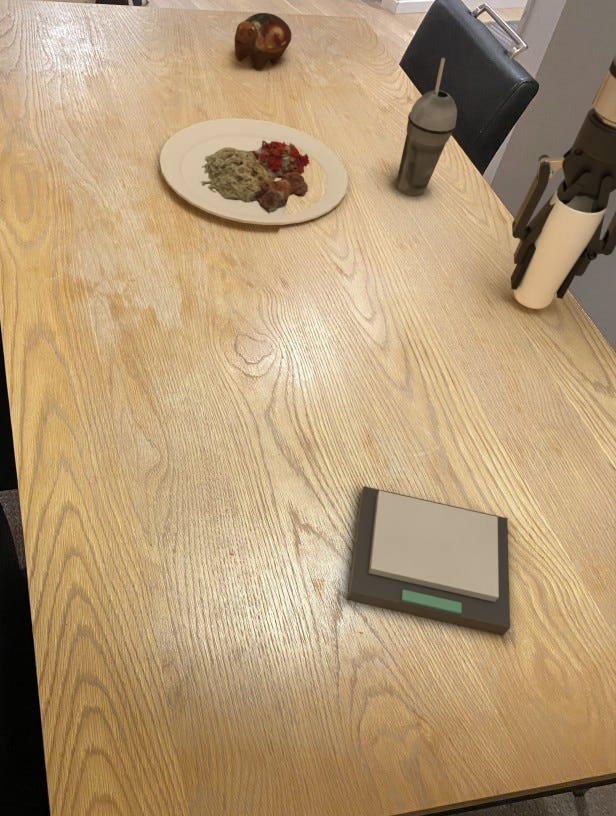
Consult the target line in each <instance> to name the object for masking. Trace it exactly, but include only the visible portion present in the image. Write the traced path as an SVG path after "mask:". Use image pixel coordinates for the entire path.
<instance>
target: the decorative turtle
mask: <svg viewBox="0 0 616 816" xmlns="http://www.w3.org/2000/svg"><path fill="white" fill-rule="evenodd" d="M291 41H292V30H291V28H290V26H289V25H288V24H287V22H286V21H285V20H284V19H282V18H281V17H279V16H278V15H276V14H272V13H269V12H258V13H254V14H252V15H251V16H249V17H247V18H246V19H244V20H243V21H241V22H239V23H238V24H237V27H236V29H235V34H234V55H235V58H236V59H237V60H238V61H240V62H242V61H244V60H246V59H247V58H249V59H250V61H251V62H252V64H253V66H254V67H255V69H256V70H258V71H261V70H263V69H264V68H265V67H266V66H267V64H268V63H269V62H270V63H271V65H275V66H276V65H277V64H278V63H279V62H280V60H281V58H282V56H283V55H284V53H285V51H286V50H287V48H288V47H289V45H290V43H291Z"/></svg>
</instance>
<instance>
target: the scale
mask: <svg viewBox="0 0 616 816" xmlns="http://www.w3.org/2000/svg"><path fill="white" fill-rule="evenodd" d="M356 515H357V516H356V524H355V532H354V541H353V549H352V556H351V565H350V572H349V573H350V574H349V579H348V580H349V581H348V588H347V589H348V590H347V597H346V600H347V601H349V602H354V603H359V604H363V605H368V606H372V607H376V608H380V609H385V610H388V611H394V612H398V613H402V614H406V615H411V616H414V617H415V616H416V617H420V618H424V619H428V620H432V621H437V622H441V623H446V624H450V625H454V626H458V627H463V628H467V629H472V630H476V631H481V632H485V633H488V634H494V635H498V636H501V637H502V636H505V634H507V632H509V630H510V629H511V610H510V609H511V608H510V607H511V606H510V573H509V572H510V571H509V567H510V565H509V527H508V526H509V524H508V523H509V521H508V517H504V516H500V515H495V514H491V513H486V512H482V511H477V510H473V509H469V508H464V507H460V506H455V505H450V504H447V503H441V502H438V501H437V502H436V501H432V500H427V499H424V498H420V497H414V496H411V495H406V494H401V493H398V492H393V491H389V490H388V491H387V490H384V489H379V488H375V487H370V486H366V485H363V487H362V489H361V492H360V493H359V500H358V507H357V514H356Z"/></svg>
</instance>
